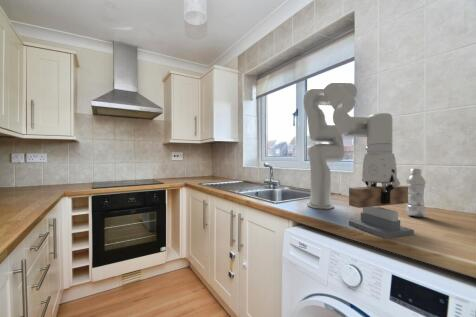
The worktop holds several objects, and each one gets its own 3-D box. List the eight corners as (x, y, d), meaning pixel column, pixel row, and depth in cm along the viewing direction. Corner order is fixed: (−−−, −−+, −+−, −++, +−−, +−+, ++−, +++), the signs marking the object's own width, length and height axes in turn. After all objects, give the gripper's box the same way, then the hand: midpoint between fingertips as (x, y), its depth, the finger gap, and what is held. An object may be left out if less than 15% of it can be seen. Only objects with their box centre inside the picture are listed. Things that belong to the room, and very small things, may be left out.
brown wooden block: (358, 207, 73) (358, 189, 73) (349, 205, 77) (348, 187, 77) (408, 203, 80) (408, 186, 80) (397, 201, 84) (397, 185, 83)
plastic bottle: (425, 216, 95) (426, 168, 95) (425, 219, 90) (425, 169, 90) (406, 213, 99) (407, 168, 99) (405, 216, 94) (405, 169, 94)
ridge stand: (348, 224, 84) (348, 204, 84) (373, 221, 88) (373, 202, 88) (385, 238, 70) (385, 214, 70) (413, 234, 73) (413, 211, 73)
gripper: (352, 150, 85) (352, 198, 85) (394, 148, 69) (394, 208, 69) (367, 150, 87) (367, 197, 88) (412, 148, 71) (412, 206, 72)
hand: (379, 201), depth 78 cm, fingers closed on brown wooden block, 4 cm apart
